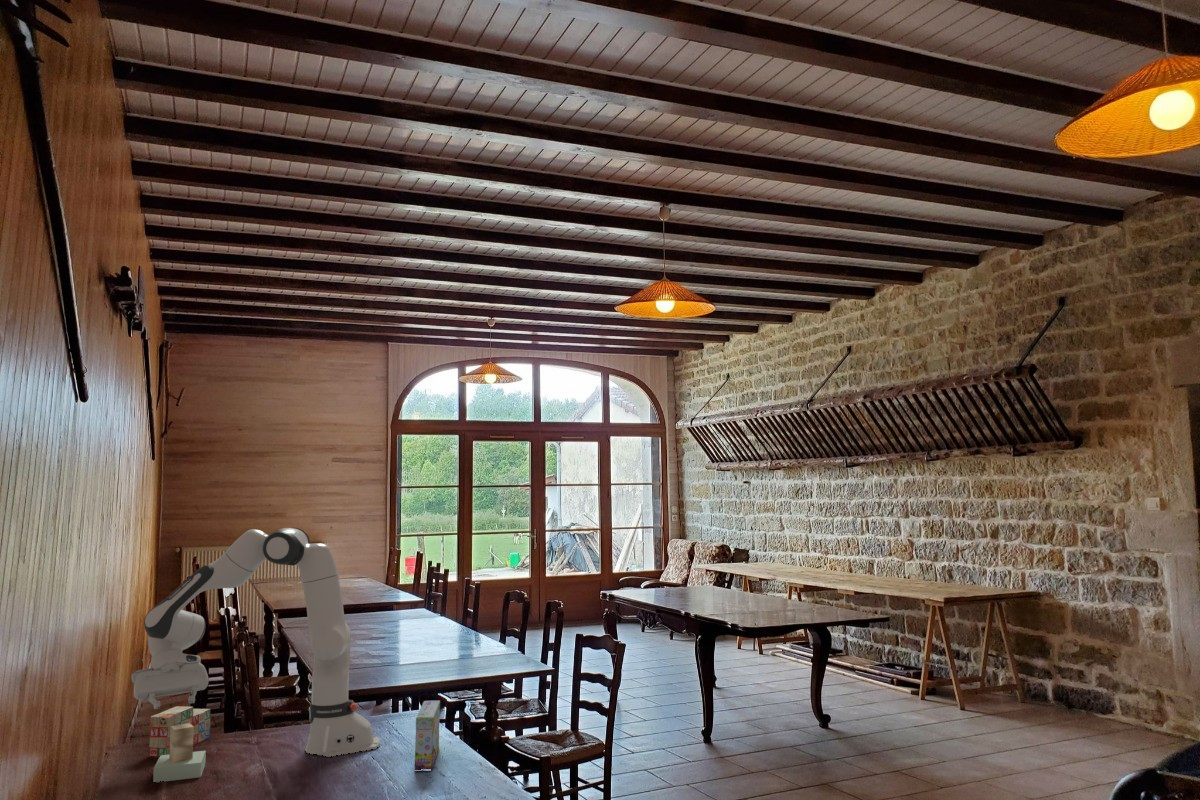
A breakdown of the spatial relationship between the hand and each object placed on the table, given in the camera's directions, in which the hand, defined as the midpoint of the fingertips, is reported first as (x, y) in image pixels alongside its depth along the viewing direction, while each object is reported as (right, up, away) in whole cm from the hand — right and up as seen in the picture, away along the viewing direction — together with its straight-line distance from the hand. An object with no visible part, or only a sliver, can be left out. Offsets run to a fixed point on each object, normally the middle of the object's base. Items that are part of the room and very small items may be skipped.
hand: (175, 705), depth 248 cm
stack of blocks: (-7, -20, +17) cm, 28 cm away
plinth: (+6, -17, -8) cm, 19 cm away
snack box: (+75, -17, 0) cm, 77 cm away
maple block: (+6, -13, -8) cm, 16 cm away
